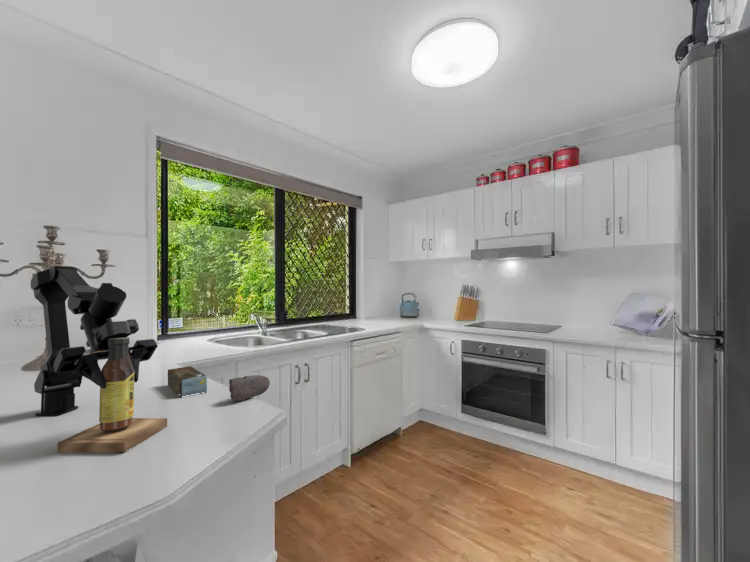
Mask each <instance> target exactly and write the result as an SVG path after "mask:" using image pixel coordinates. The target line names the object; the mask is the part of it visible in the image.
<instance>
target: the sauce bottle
mask: <svg viewBox="0 0 750 562" xmlns="http://www.w3.org/2000/svg"><path fill="white" fill-rule="evenodd" d="M129 345H130V337H129V336H128V337H118V338H109V339H108V347H109V349H108V358H109V359H107V360H106V362H105V364H104V365H103V366H102V368H101V372H102V374H103V376H104V379H105V382H106V387H105V388H104V389H103V388H101V387H100V386H99V417H98V418H99V420H98V422H99V423H100V429H101V430H105V431H110V430H117V429H121V428H125V427H127V426H129V425H130V424H131V423H132V421H133V418H134V410H135V409H134V408H135V406H134V405H135V382H134V374H135V371H134V368H133V366H132V363H131V360H130V358H129V354H128V348H129V347H130V346H129Z"/></svg>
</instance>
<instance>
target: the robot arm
mask: <svg viewBox="0 0 750 562" xmlns="http://www.w3.org/2000/svg"><path fill="white" fill-rule="evenodd" d="M30 289H31V290H32V291H33V295H34V296H33V297H34V299H36V300H37V301H38V302H39V303H40V304H41V305H42V307H43V317H44V318H43V319H44V328H45V336H46V349H47V356H46V358H45V359H44V361H43V363H42V364H41V365H40V371H39V373H38V375H37V377H36V379H35V382H34V384H33V386H34V393H38V394H40V395H41V398H40V400H41V401H40V411H39V412H35V413H34V416H60V415H62V414H65V413H69V412H70V411H73V410H74V411H75V410H76V409H79V405H76V403H75V401H76V400H75V399H76V393H75V388H80V387H81V384H82V383H83V381H82V380H83V377H84V378H86V379H88V380H90V381H91V382H92V383H94V384H95V385H97V386H98V387H99V388H100V387H101V388H103V389H104V388H105V387H106V382H105V379H104V376H103V374H102V372H101V370H102V368H100V365H99V361H104V360H108V359H109V358H108V349H109V347H108V339H109V338H118V337H129V336H131V335H134V334H136V333H137V332H139V330H140V329H139V328H140V326H139V323H138V322H137V320H136V319H135V318H132V319H127V320H121V321H119V320H118V321H113V319H112V318H114V317H117V315H118V313H119V311H120V310H121V308H122V306H123V305H124V303H125V300H126V299H127V293H126V291H124V290H123V289H121V288H120V287H117V286H114V285H113V283H111V282H102V283H101V285H100V287H93V286H91V285H90V284H89V283H87V281H86V280H85V279H84V278H83V277H82V276H81V275H80V273H78V270H77V267H76V266H71V265H70V266H69V265H68V266H67V265H54V266H51V267H50V268H48V269H44V270H42V271H38V272H36V273H35V274H34V275H33V276H32V278H31V279H30ZM66 301H67V307H66ZM67 309H68V310H69V311H71V314H73V315H82V316H81V318H80V325H79V329H80V331H84V334H85V337H86V343H85V345H86V347H87V348H88V347H89V348H90V349H86V347H85V346H83V345H81V346H71V345H70V336H69V335H70V334H69V327H68V317H67ZM157 348H158V343H157V341H156V340H155V339H154V338H149V339H137V340H136V341H135V343H134V344H133V346H129V348H128V354H129V358H130V360H131V363H132V366H133V368H134V371H135V374H134V383H137V382H138V380H139V373H140V372H139V371H140V363H141V362H146V361H148V360H150V359H151V358H152V356H153V355H154V353H155V351H156V350H157Z"/></svg>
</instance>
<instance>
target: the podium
mask: <svg viewBox="0 0 750 562" xmlns="http://www.w3.org/2000/svg"><path fill="white" fill-rule="evenodd" d="M165 427H166V428H167V427H168V418H167V417H164V418H163V417H159V418H158V417H156V418H155V417H154V418H153V417H152V418H151V417H150V418H149V417H143V418H142V417H141V418H140V417H138V418H137V417H133V421H132V423H131V424H130V425H129V426H127V427H125V428H121V429H117V430H110V431H105V430H101V429H100V422H99V423H97V424H95V425H93V426H90V427H89V428H86V429H84V430H82V431H79V432H78V433H75V434H73V435H71V436H69V437H66V438H65V439H63V440H60V441H58V442H57V445H56V446H57V448H56V449H57V450H56V451H57V452H92V453H91V454H93V453H94V454H96V453H97V454H106V453H105V452H125V453H127V452H128V451H130V450H131V449H130V448H132V447H133V448H135V447H136V446H135V445H137V444H138V445H140V444H142V443H143V442H145V441H146V440H148V439H149V437H150V438H151V437H153V436H155V435H156V434H158V433H159V432H160V430H161V431H163V430H164V429H166V428H165ZM163 428H164V429H163ZM162 429H163V430H162ZM157 432H158V433H157ZM155 433H156V434H155ZM152 435H153V436H152ZM147 438H148V439H147ZM144 440H145V441H144ZM142 441H143V442H142ZM139 443H140V444H139ZM138 445H137V446H138ZM134 446H135V447H134ZM133 448H132V449H133ZM129 449H130V450H129ZM127 450H128V451H127ZM126 451H127V452H126ZM103 452H104V453H103Z"/></svg>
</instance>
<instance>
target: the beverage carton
mask: <svg viewBox="0 0 750 562" xmlns="http://www.w3.org/2000/svg"><path fill="white" fill-rule="evenodd" d="M207 380H208V376H207V375H206V374H204V373H203V372H201V371H199V369H197V368H195V367H193V366H191V365H189V366H185V367H184V366H183V367H182V366H181V367H177V368H171V369H170V368H169V369H167V386H168V387H169V388H170V389H171V388H172V389H171V390H172V391H173V392H175V393H176V392H177V393H178V394H180V395H181V396H186V395H191V394H196V393H202V392H207V393H208V391H207V390H208V381H207ZM177 393H176V394H177ZM178 394H177V395H178ZM180 395H179V396H180ZM181 396H180V397H181Z"/></svg>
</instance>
